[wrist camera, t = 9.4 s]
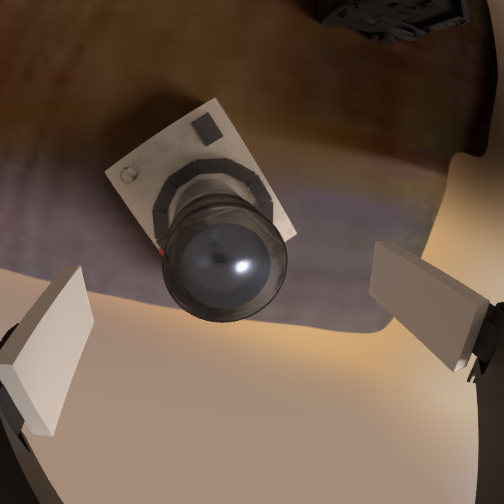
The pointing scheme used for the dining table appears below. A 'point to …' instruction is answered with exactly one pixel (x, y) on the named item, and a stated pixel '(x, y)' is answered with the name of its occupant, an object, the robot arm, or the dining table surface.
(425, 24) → the camera
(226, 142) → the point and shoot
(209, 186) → the lens
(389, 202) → the dining table surface
